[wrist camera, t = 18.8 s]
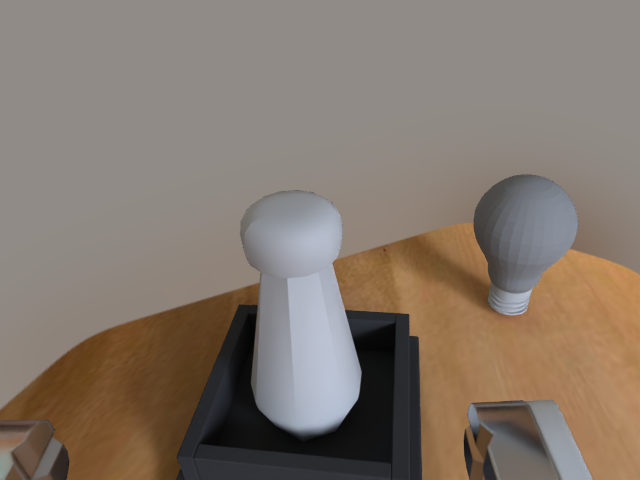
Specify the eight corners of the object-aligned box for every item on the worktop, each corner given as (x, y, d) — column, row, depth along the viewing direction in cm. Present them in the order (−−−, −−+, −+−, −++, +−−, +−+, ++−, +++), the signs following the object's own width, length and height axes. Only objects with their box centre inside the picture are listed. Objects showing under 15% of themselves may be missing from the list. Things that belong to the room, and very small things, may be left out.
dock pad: (417, 347, 33) (421, 306, 31) (421, 540, 23) (427, 499, 21) (238, 335, 35) (231, 296, 33) (172, 510, 25) (155, 469, 23)
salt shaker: (270, 364, 31) (240, 172, 24) (364, 370, 30) (363, 174, 23) (245, 450, 26) (199, 242, 19) (356, 461, 25) (352, 248, 18)
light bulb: (455, 326, 34) (472, 196, 29) (469, 274, 39) (486, 153, 33) (551, 348, 32) (590, 213, 27) (554, 290, 37) (587, 164, 31)
